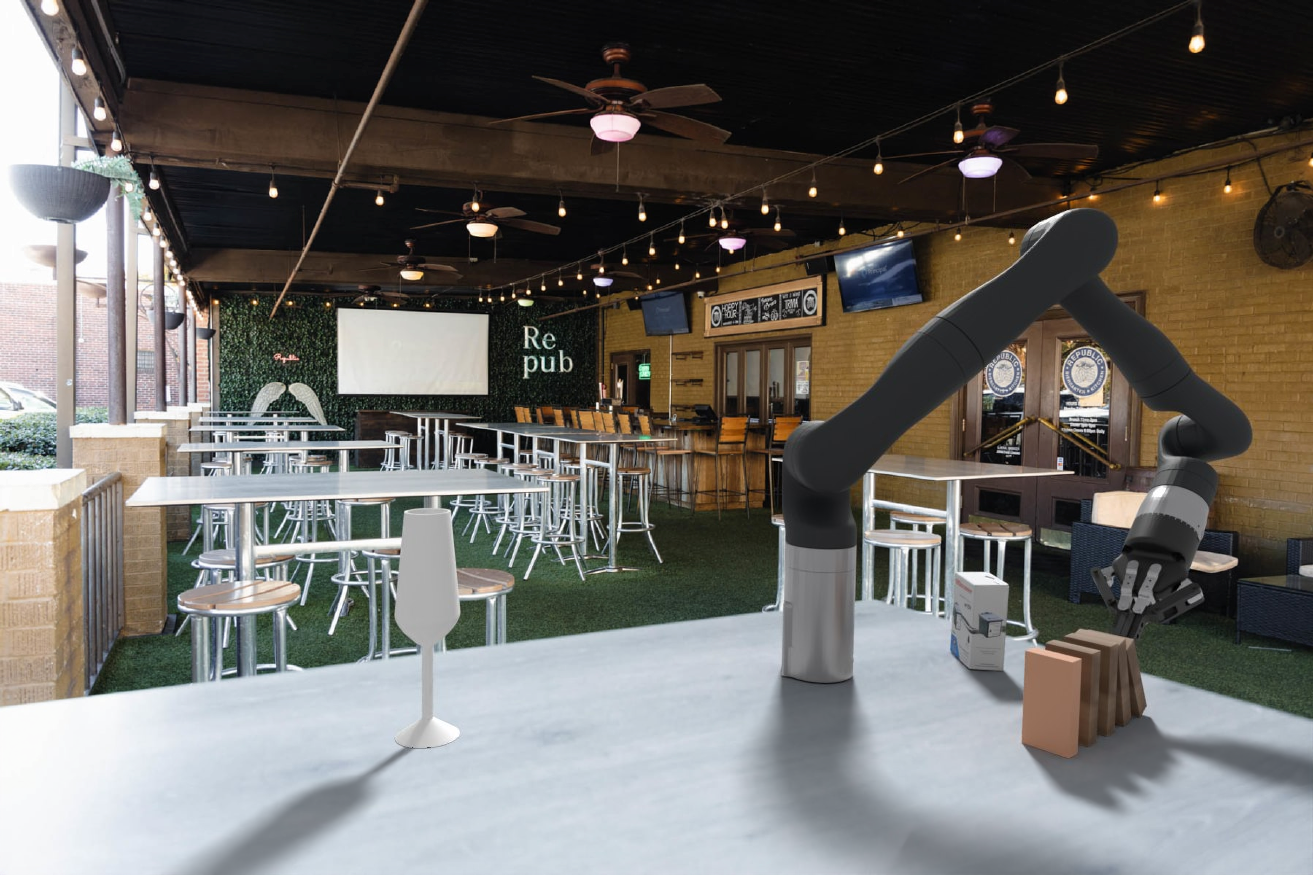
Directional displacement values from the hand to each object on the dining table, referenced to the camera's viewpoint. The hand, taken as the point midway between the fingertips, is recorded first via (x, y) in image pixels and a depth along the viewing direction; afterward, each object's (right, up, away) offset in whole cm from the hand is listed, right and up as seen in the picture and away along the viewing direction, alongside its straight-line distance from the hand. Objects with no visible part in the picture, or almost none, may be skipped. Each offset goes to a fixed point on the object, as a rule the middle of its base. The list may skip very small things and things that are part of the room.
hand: (1121, 643), depth 101 cm
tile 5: (-13, -9, -10) cm, 19 cm away
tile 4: (-10, -8, -7) cm, 15 cm away
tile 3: (-6, -8, -5) cm, 11 cm away
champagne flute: (-79, -8, -9) cm, 80 cm away
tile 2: (-3, -8, -2) cm, 9 cm away
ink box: (-10, -7, +19) cm, 22 cm away
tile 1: (+1, -8, +1) cm, 8 cm away
